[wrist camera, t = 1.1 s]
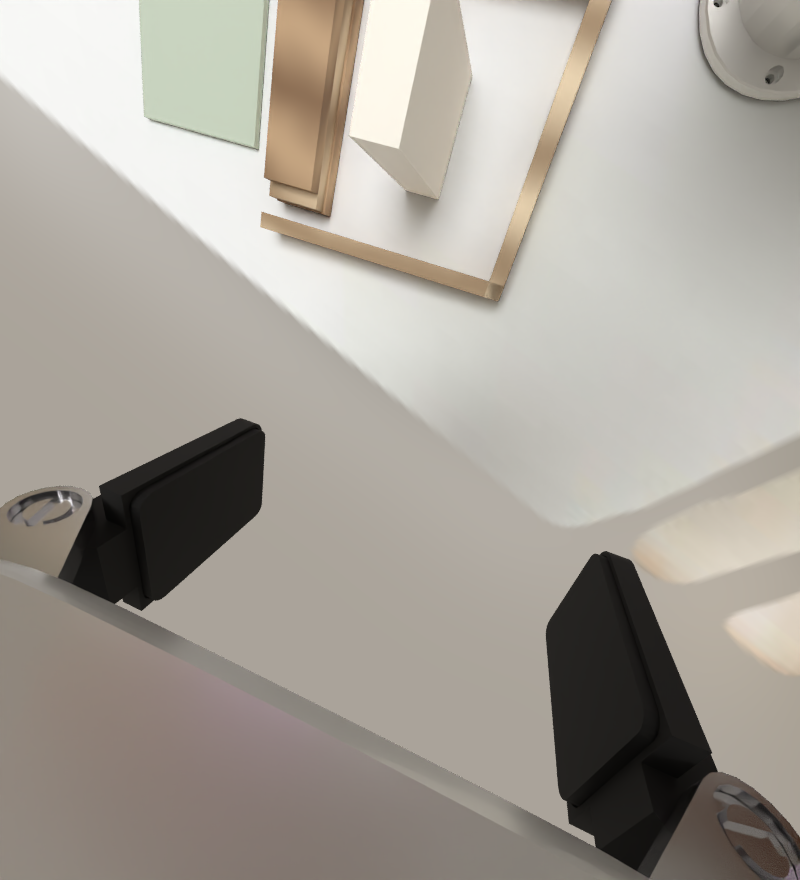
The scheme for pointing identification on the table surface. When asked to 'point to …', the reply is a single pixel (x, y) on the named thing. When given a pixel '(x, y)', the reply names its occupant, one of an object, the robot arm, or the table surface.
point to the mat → (205, 65)
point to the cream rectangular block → (412, 90)
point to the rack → (525, 204)
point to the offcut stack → (310, 99)
